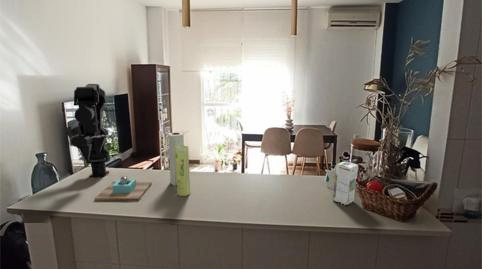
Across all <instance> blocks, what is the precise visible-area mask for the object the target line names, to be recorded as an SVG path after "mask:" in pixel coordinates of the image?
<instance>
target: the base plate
mask: <svg viewBox="0 0 482 269" xmlns="http://www.w3.org/2000/svg"><path fill="white" fill-rule="evenodd" d="M116 182H117V181H112V182H111V183H110V184H108V186H107V187H106V188H104V189H103V190H102V191H101V192H100V193H98V195H96V196H95V197H94V201H96V202H139V201H140V200H141V199H142V198H143V196H144V195H145V194H146V192H148V190H149V189H150V188H151V186H152V184H153V183H152V181H151V182H150V181H149V182H148V181H136V187H135V189H134V190H133V191H132V192H131V193H113V188H112V185H113V184H115V183H116Z"/></svg>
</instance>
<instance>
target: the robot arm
mask: <svg viewBox="0 0 482 269" xmlns="http://www.w3.org/2000/svg"><path fill="white" fill-rule="evenodd" d="M73 91H74V92H73V106H75V107H78V108H77V109H76V110H75V112H74V119H75V120H76V122H78V124H77V126H74V127H72V126H67V127H65V128H64V135H66V136H67V137H68V138H69V139H70V142H69V143H70V146H73V147H76V148H78V150H79V152H80V153H81V155H82V157H83V159H84V160H85V161H86V164H87V165H89V164H90V165H91V174H89V175H88V176H89V177H90V178H104V177H105V176H107V175H108V174H109V173H110V171H109V170H108V171H107V167H106V166H107V165H106V163H108V162H110V161H111V158H110V153H109V152H110V151H108V149H107V147H106V145H105V141H106V139H107V138H108V136H109V130H108V129H107V128H103V126H102V125H103V124H102V122H103V120H102V118H103V116H102V113H103V112H104V110H105V109H106V104H107V95H106V92H105V91H104V89H102V88H101V86H100V84H99V83H88V84H86V85H85V86H76V87H75V89H74V90H73Z"/></svg>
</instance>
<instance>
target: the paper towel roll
mask: <svg viewBox="0 0 482 269" xmlns="http://www.w3.org/2000/svg"><path fill="white" fill-rule="evenodd" d="M184 142H185V141H184V133H183V132H176V131H175V132H170V133H168V153H169V154H168V155H169V156H168V157H169V158H168V159H169V173H170V174H169V176H170V178H169V180H170V181H169V182H170V184H171V185H172V186H174V187H176V186H177V176H176V155H175V144H179V145H183V146H185V145H184V144H185V143H184Z"/></svg>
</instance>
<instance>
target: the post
mask: <svg viewBox="0 0 482 269" xmlns="http://www.w3.org/2000/svg"><path fill="white" fill-rule="evenodd" d="M120 179H121V184H127V185H128V179H129V178H128V176H122V177H120Z"/></svg>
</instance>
